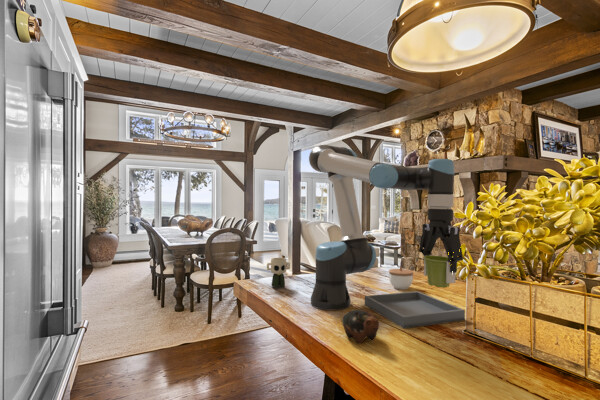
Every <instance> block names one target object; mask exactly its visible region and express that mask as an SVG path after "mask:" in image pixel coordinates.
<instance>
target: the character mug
mask: <svg viewBox="0 0 600 400" xmlns="http://www.w3.org/2000/svg"><path fill="white" fill-rule="evenodd" d="M290 269H291V262H289V261H287V258H286V257H272V258H270V262H267V263H266V270H267V271H270V272H271V273H272V274H273V275H272V278H271V279H272V280H271V287H272V288H284V287H286V280H285V273H286V272H287V270H290Z"/></svg>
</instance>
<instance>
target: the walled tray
mask: <svg viewBox="0 0 600 400" xmlns="http://www.w3.org/2000/svg"><path fill="white" fill-rule="evenodd" d="M364 306H365V307H367V308H369V309H370V310H372V311H374V312H375V313H377V314H378V315H381V316H382V317H383V318H386V319H387V320H388V321H390V322H392V323H394V324H395V325H397V326H399V327H401V329H402V328H403V329H411V328H412V329H413V328H418V327H424V326H425V327H426V326H433V325H441V324H449V322H450V323H454V322H453V321H457V322H462V321H461V320H466V314H465V313H466V310H465V309H464V308H461V307H458V306H456V305H453V304H451V303H448V302H446V301H444V300H440V299H438V298H435V297H433V296H430V295H429V294H425V293H423V292H420V291H417V290H416V291H405V292H395V293H384V294H373V295H372V294H371V295H364Z"/></svg>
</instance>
